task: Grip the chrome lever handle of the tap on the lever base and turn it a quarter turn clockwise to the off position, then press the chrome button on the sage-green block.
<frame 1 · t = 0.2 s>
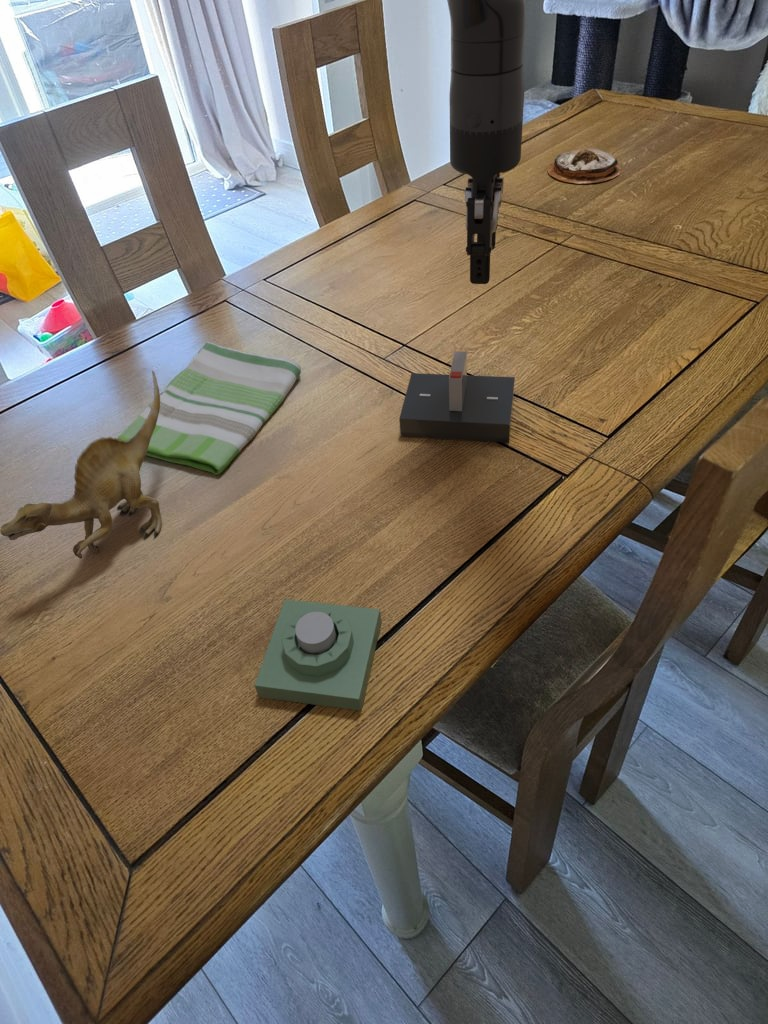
hand: (483, 265, 83), 18 cm above the table, tool pointing down, fingers open, 8 cm apart
dish towel: (216, 413, 98), on the table
powdered cake: (583, 171, 146), on the table
button block: (322, 658, 68), on the table
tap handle: (458, 380, 89), point 6 cm above the table, hinge at 90.0°
button: (315, 632, 65), point 4 cm above the table, slide at 0.1 cm
dinosaur figurine: (140, 520, 84), on the table
lever base: (458, 415, 93), on the table
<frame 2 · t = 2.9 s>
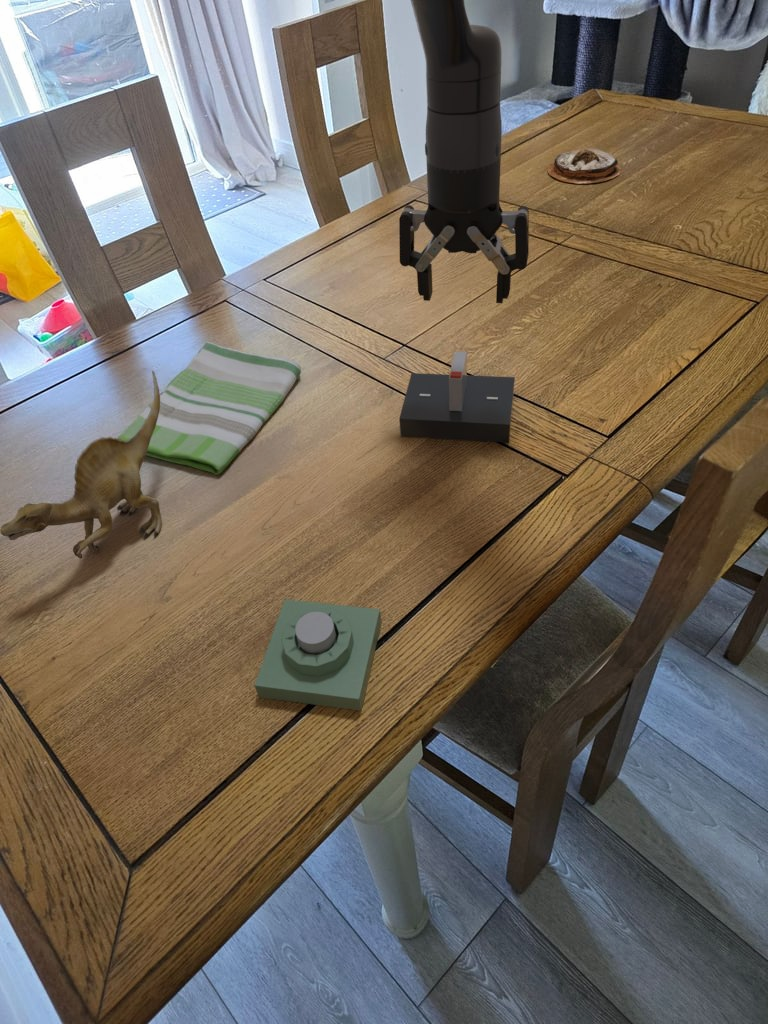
hand: (463, 298, 82), 16 cm above the table, tool pointing down, fingers open, 8 cm apart
nothing on the table moved.
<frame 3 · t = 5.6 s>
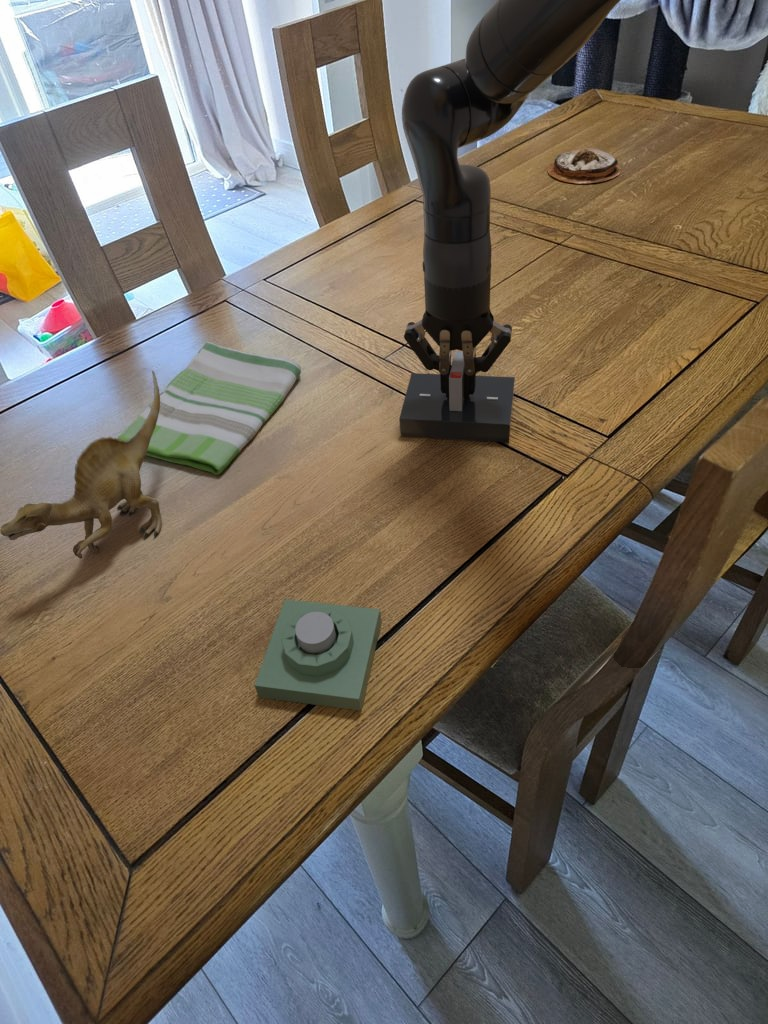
hand: (458, 393, 90), 4 cm above the table, tool pointing down, fingers closed on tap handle
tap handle: (458, 380, 89), point 6 cm above the table, hinge at 90.0°, touching gripper
everything else where it was.
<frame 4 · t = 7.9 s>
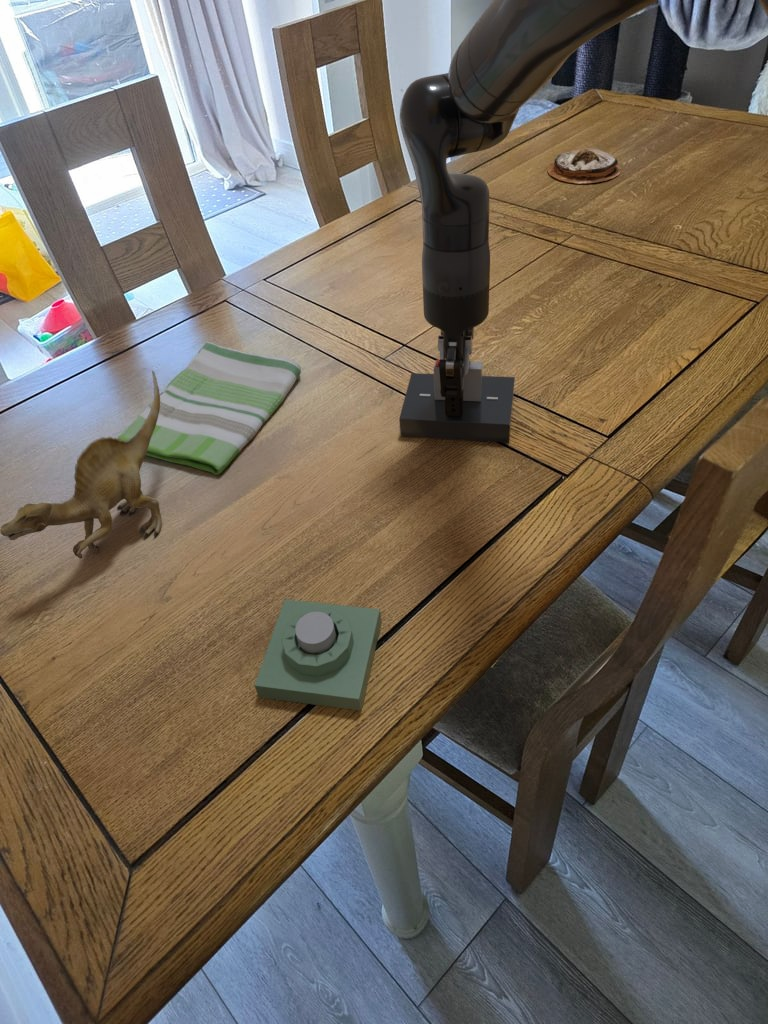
hand: (456, 402, 90), 3 cm above the table, tool pointing down, fingers open, 4 cm apart
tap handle: (458, 380, 89), point 6 cm above the table, hinge at 0.4°
everything else where it was.
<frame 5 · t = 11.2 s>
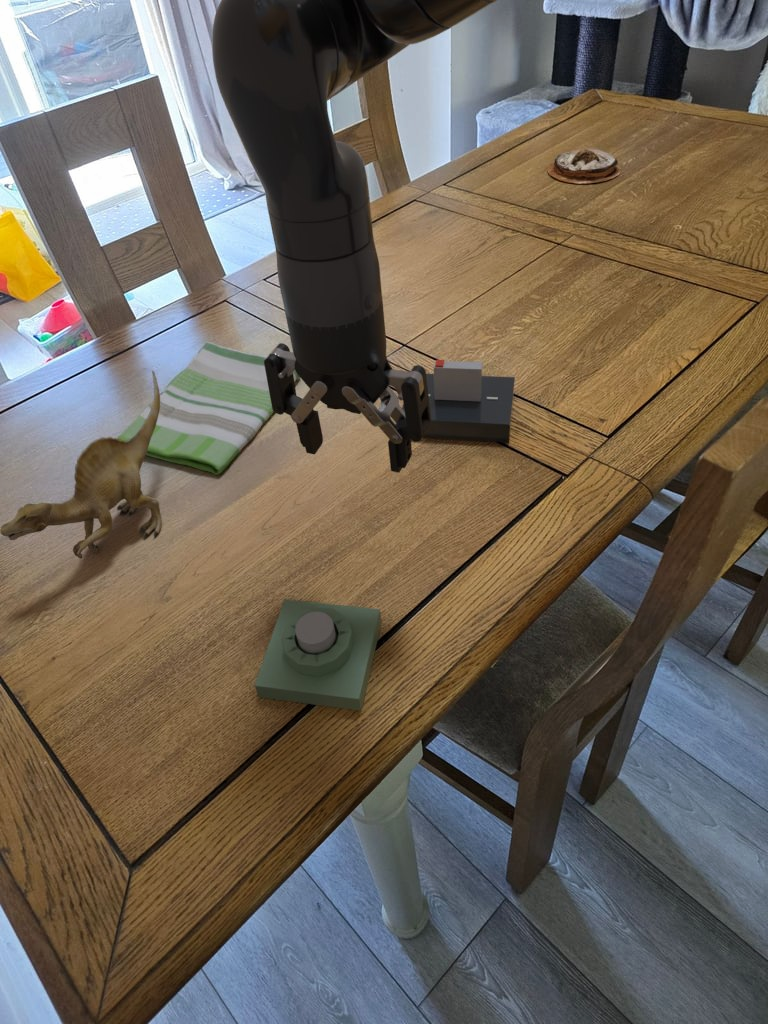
hand: (356, 457, 64), 16 cm above the table, tool pointing down, fingers open, 8 cm apart
nothing on the table moved.
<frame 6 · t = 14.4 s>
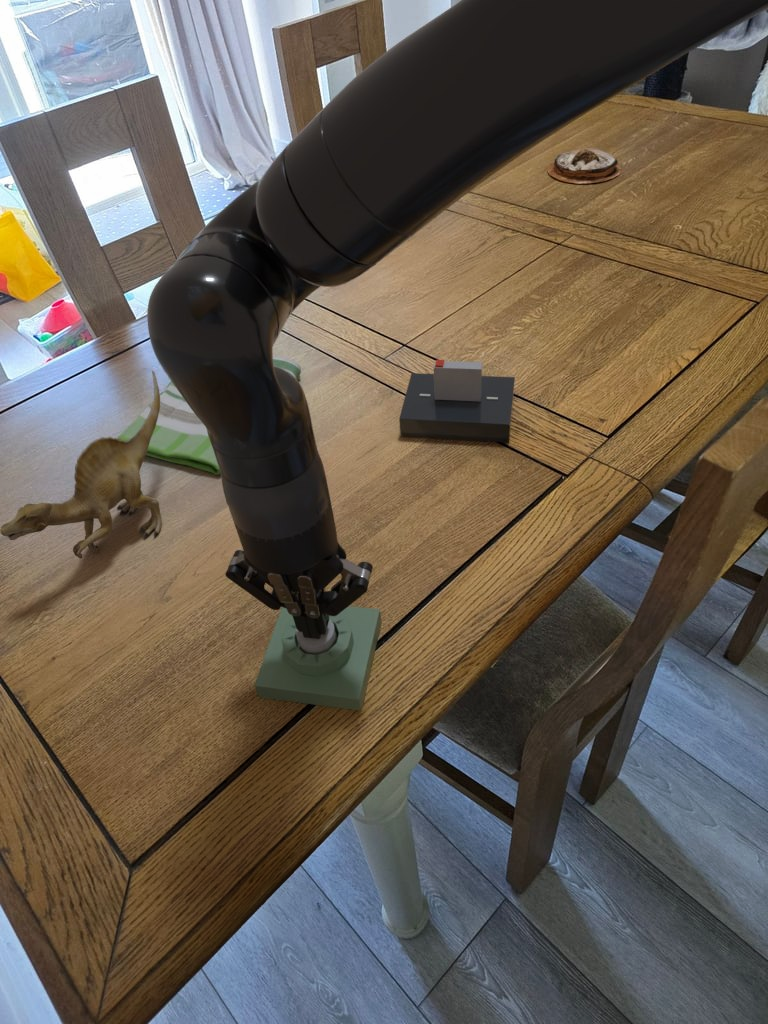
hand: (314, 630, 65), 5 cm above the table, tool pointing down, fingers closed
button: (316, 635, 65), point 4 cm above the table, slide at -0.4 cm, touching gripper
everything else where it was.
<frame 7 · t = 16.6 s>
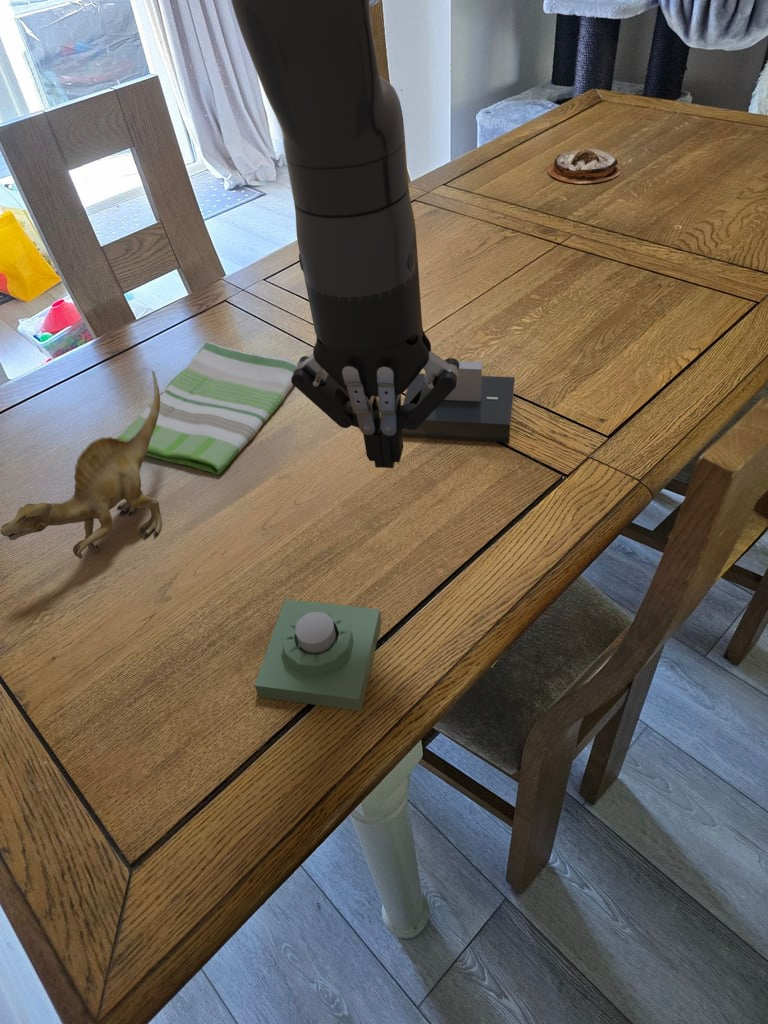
hand: (386, 461, 58), 20 cm above the table, tool pointing down, fingers closed
button: (315, 632, 65), point 4 cm above the table, slide at 0.1 cm
everything else where it was.
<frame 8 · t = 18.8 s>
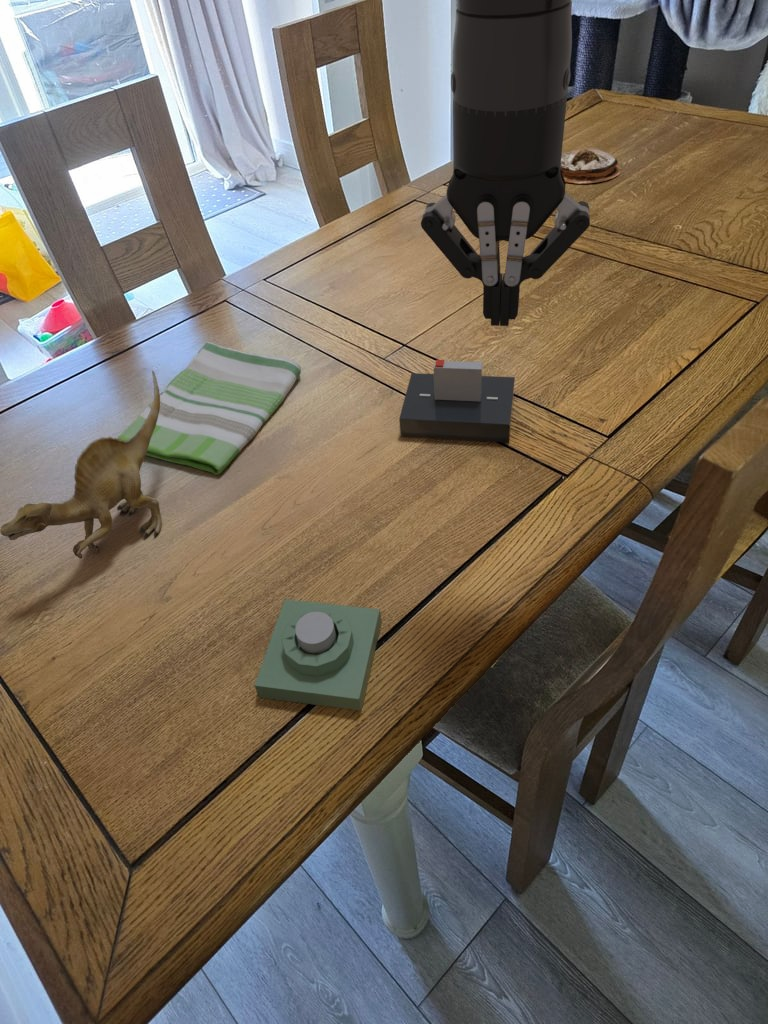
hand: (499, 320, 58), 27 cm above the table, tool pointing down, fingers closed
nothing on the table moved.
at the end: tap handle at +0° (first picture: +90°); button pushed in 1.1 cm at the most during the clip, back to where it started at the end; button slide at 0.1 cm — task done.
